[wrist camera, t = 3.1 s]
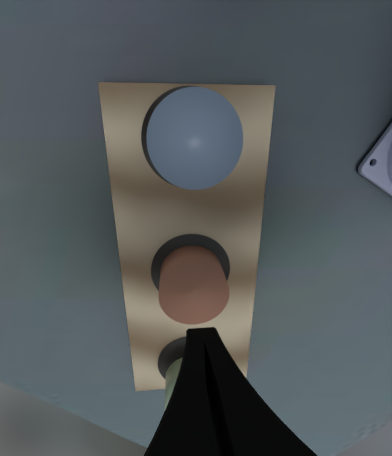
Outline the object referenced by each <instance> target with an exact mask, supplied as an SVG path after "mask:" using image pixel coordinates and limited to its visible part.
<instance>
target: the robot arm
mask: <svg viewBox="0 0 392 456" xmlns="http://www.w3.org/2000/svg"><path fill="white" fill-rule="evenodd" d="M371 160H372V164H371V165H370V161H371ZM358 172H359V174H360V175H362V176H363V177H365V178H366V179H367V180H369V181H370V182H372V183H373V184H374V185H376V186H377V187H379V188H380V189H381V190H383V191H384V192H386V193H387V194H388V195H390V196H391V197H392V123H391V124H390V125H389V127H388V128H387V129H386V131H385V132H384V133H383V135H382V136H381V137H380V139H379V140H378V141H377V143H376V144H375V145H374V147H373V148H372V149H371V151H370V152H369V153H368V155H367V156H366V157H365V159H364V160H363V161H362V163H361V164H360V165H359V167H358ZM144 456H317V455H316V454H315V453H314V452H313V451H312V450H311V449H310V448H309V447H308V446H307V445H305V444H304V443H303V442H302V441H301V440H300V439H299V438H298V437H297V436H296V435H295V434H294V433H293V432H292V431H291V430H290V429H289V428H288V427H287V426H286V425H285V424H284V423H283V422H282V421H281V420H280V419H279V417H278V416H277V415H276V414H275V413H274V412H273V411H272V410H271V409H270V407H269V406H268V405H267V404H266V403H265V402H264V400H263V399H262V398H261V397H260V396H259V394H258V393H257V392H256V391H255V389H254V388H253V387H252V386H251V384H250V383H249V382H248V380H247V379H246V377H245V376H244V375H243V373H242V372H241V370H240V369H239V367H238V366H237V364H236V363H235V361H234V360H233V358H232V357H231V355H230V353H229V352H228V350H227V348H226V347H225V345H224V343H223V341H222V339H221V337H220V336H219V333H218V331H217V329H216V328H215V327H206V328H190V329H188V330H186V344H185V349H184V354H183V358H182V362H181V366H180V370H179V373H178V376H177V380H176V383H175V386H174V389H173V392H172V394H171V397H170V400H169V402H168V405H167V407H166V410H165V412H164V414H163V417H162V419H161V421H160V424H159V426H158V428H157V430H156V432H155V434H154V437H153V439H152V441H151V443H150V445H149V447H148V448H147V450H146V452H145V454H144Z"/></svg>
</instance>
